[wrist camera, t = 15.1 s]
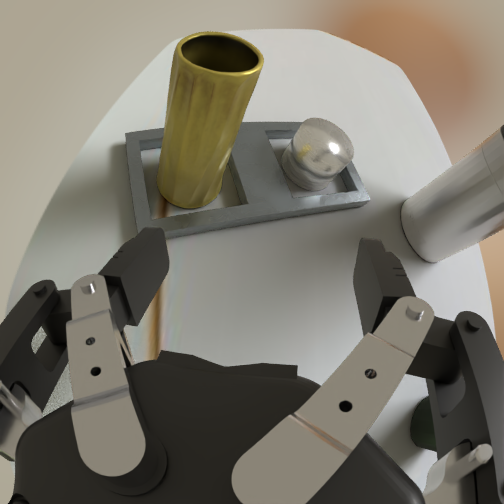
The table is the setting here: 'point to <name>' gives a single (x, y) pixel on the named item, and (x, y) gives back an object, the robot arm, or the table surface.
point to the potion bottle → (423, 426)
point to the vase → (204, 114)
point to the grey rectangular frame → (261, 176)
